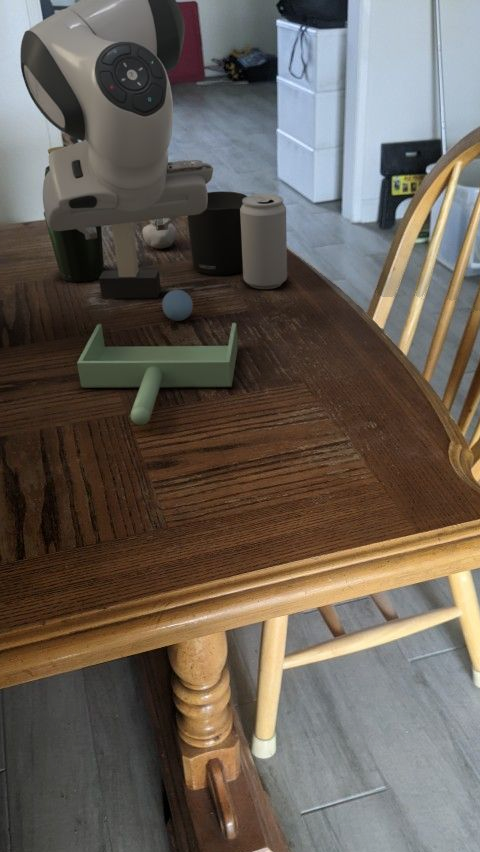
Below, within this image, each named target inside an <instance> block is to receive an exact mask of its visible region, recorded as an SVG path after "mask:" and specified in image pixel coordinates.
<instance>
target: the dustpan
mask: <svg viewBox="0 0 480 852" xmlns="http://www.w3.org/2000/svg"><path fill="white" fill-rule="evenodd" d="M238 346H239V345H238V328H237V323H236V322H232V323H231V330H230V333H229V340H228V345H159V346H158V345H157V346H156V345H155V346H154V345H153V346H152V345H151V346H147V345H145V346H142V345H141V346H140V345H139V346H137V345H136V346H133V345H132V346H106V344H105V338H104V333H103V325H102V323H97V324H96V326H95V328H94V330H93V332H92V334H91V335H90V337H89V339H88V341H87V343H86V344H85V347H84V349H83V351H82V352H81V354H80V357H79V358H78V360H77V362H76V365H77V371H78V377H79V381H80V387H81V388H84V389H85V388H86V389H88V388H89V389H92V388H93V389H94V388H95V389H99V388H101V389H104V388H105V389H108V388H112V389H113V388H115V389H116V388H119V389H120V388H122V389H123V388H127V389H128V388H129V389H130V388H138V392H137V395H136V396H135V399H134V403H133V405H132V408H131V411H130V419H131V421H132V423H134V424H135V425H137V426H144V425H146V424H148V423H149V421H150V420H151V416H152V413H153V410H154V407H155V403H156V401H157V397H158V394H159V392H160V389H161V388H232V386H233V381H234V374H235V368H236V361H237V356H238V349H239V347H238Z"/></svg>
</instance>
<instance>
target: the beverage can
mask: <svg viewBox="0 0 480 852" xmlns="http://www.w3.org/2000/svg"><path fill="white" fill-rule="evenodd" d="M246 196H247V197H245V198H244V199H243V200H242V202H243V205H242V207H241V209H240V217H241V238H242V259H243V271H242V275H243V276H242V278H243V281H244V282H245V283H246V284H247V285H249V286H250V287H252V288H255V289H260V290H270V289H276V288H278V287H281V285H283V283H285V282H286V281H287V279H288V250H287V249H288V248H287V247H288V241H287V240H288V239H287V207H286V205H285V204H284V198H283V197H282V196H281V195H277V194H271V193H258V194H253V195H252V194H251V195H246Z"/></svg>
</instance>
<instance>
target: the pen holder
mask: <svg viewBox="0 0 480 852" xmlns="http://www.w3.org/2000/svg"><path fill="white" fill-rule="evenodd" d="M207 194H208V203H207V208H206V210H205V211H203V212H202V213H200V214H198V215H189V216H186V217H187V227H188V234H189V242H190V250H191V257H192V264H193V265H192V266H193V268H194V269H195V270H196V271H197V272H198V273H200V274H203V275H208V276H213V277H214V276H216V277H217V276H218V277H219V276H220V277H221V276H231V275H236V274H240V273H243V259H242V238H241V217H240V209H241V207H242V205H243V202H242V200H243V199H244V198H245V197H247V196H248V195H246V194H245V193H240V192H235V191H224V190H223V191H221V190H219V191H207Z"/></svg>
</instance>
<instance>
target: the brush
mask: <svg viewBox="0 0 480 852" xmlns="http://www.w3.org/2000/svg"><path fill="white" fill-rule="evenodd" d="M111 230H112V236H113V237H112V238H113V244H114V245H113V246H114V251H115V259H116V266H117V270H104V271H103V272H102V274H101V276H100V277H99V278H98V282H99V289H100V294H101V295H100V296H101V299H102V300H103V299H105V300H108V299H110V300H111V299H115V300H116V299H158V298H159V296H160V293H161V291H162V288H161V286H162V285H161V278H160V270H159V269H155V270H151V269H148V270H146V269H145V270H139V262H138V261H139V260H138V254H137V245H136V244H137V243H136V237H135V230H134V222H131V223H122V224H114V225H111Z"/></svg>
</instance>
